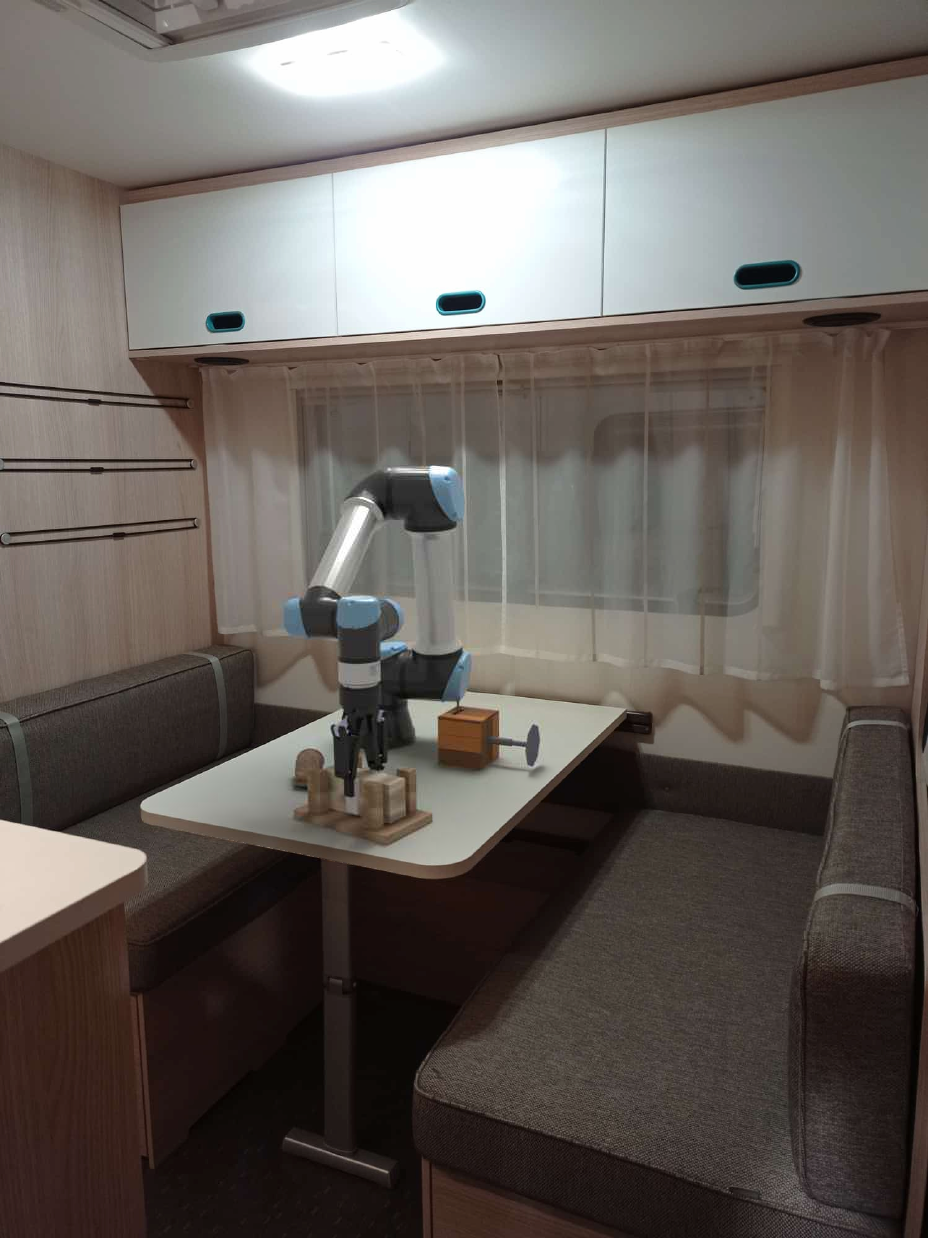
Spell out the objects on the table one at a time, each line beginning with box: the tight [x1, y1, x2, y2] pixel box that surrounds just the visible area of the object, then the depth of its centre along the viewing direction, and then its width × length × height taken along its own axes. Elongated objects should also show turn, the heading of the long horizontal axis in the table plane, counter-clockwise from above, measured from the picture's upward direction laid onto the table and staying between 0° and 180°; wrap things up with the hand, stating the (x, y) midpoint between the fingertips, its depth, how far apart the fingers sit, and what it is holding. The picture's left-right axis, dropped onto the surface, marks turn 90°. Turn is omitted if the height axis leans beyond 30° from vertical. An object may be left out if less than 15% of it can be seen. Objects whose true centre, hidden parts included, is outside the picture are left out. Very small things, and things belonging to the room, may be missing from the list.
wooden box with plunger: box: [437, 696, 541, 771], centre depth 195 cm, size 11×20×14 cm, turn 66°
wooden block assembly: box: [293, 755, 433, 846], centre depth 162 cm, size 22×13×10 cm, turn 55°
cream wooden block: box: [324, 764, 406, 824], centre depth 162 cm, size 16×4×7 cm, turn 57°
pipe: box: [293, 747, 326, 789], centre depth 182 cm, size 6×17×10 cm
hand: (362, 808), depth 163 cm, fingers closed on cream wooden block, 4 cm apart
